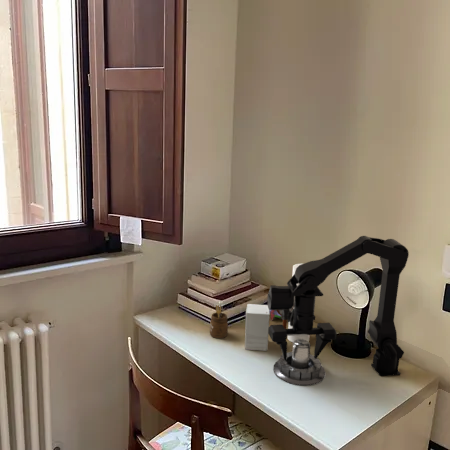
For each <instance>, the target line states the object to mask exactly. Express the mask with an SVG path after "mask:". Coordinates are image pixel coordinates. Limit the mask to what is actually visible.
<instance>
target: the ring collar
mask: <svg viewBox="0 0 450 450" xmlns="http://www.w3.org/2000/svg"><path fill="white" fill-rule="evenodd" d="M291 363H292V351H289V352H288V351H287V358H286V360H284V358H283V355H282V354H281V355H280V357H279V358H278V360H277V361H276V362H275V363H274V364H273V369H272V370H273V373H274V375H275V376H276V377H277V378H278V379H280V380H281V381H283V382H284V383H287V384H289V385H293V386H294V385H295V386H302V387H305V386H306V387H307V386H314V385H317V384H319V383H321V382H323V381H324V379H325V377H326V370H325V367H323V365H322V362H321V360H320V359H319V358H318V357H317V359H315V358H314V354H311V353H310V357H309V368H308V369H297V368H293V367H291Z"/></svg>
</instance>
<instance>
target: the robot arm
mask: <svg viewBox="0 0 450 450" xmlns="http://www.w3.org/2000/svg"><path fill="white" fill-rule="evenodd" d="M409 253H410V252H409V249H408V248H407V247H406V246H405V245H403V244H401V243H400V242H399V241H398V240H396V239H394V238H388V239H382V238H379V237H378V238H377V237H370V236H367V235H360V236H359V237H358V238H357V239H355V240H353V241H352V242H350V243H348V244H347V245H345V246H343V247H341V248H339V249H338V250H335V251H334V252H332V253H330V254H329V255H326V256H325V257H323V258H321V259H316V260H310V261H307V262H304V263H300V264H301V265H300V266H298V267H297V268H296V271H295V274H294V275H293V276H291V277H290V279H288V281H287V282H286V285H270V286H269V291H268V293H267V297H266V298H267V304H268V309H269V310H282V316H281V317H282V318H281V319H282V321H283V320H287V323H289V322H290V326H293V328H292V329H288V328H286V329H285V328H284V327H283V324H269V328H268V337H269V339H271V341H272V342H273V343H276V344H277V345H279V347H280V351H281V353H282V354H281V355H283V358H284V360H286V358H287V352H288V342H287V340H288V336H294V335H310V336H312V335H313V336H314V335H315V337H316V338H315V343H314V344H315V345H314V351H313V356H314V358H315V359H317V358H318V357H319V356H320V354H321V353H322V351H323V350H324V349H325V348H326V346H327V345H328V344H329V343H332V341H333V340H336V339H337V333H338V332H337V330H336V329H335V327H333V325H332V324H331V322H318V323H317V324H316V327H314V321H315V320H316V316H315V309H316V297H323V296H324V293H323V291H321V289H320V287H319V286H321V285H322V284H323V283H324V282H325V280H326V279H327V278H328V277H329V276H330V275H331V274H333V273H334V272H336V271H338V270H340V269H341V268H344V267H345V266H347V265H349V264H351V263H352V262H355V261H356V260H358V259H359V258H361V257H363V256H365V255H367V254H370V255H373V256H376V257H378V258H379V261H380V265H381V268H382V274H381V282H380V289H379V299H378V307H377V315H376V317H375V318H374V320H371V319H370V320H369V321H368V326H369V327H368V330H367V333H368V335H369V337H370V339H371V341H372V342H373V344H374V345H375V346H376V347H377V348H376V349H375V352H374V354H373V357H372V363H371V364H370V365H371V367H372V368H373V370H374V371H375V372H376V373H377V374H378V376H379V377H391V376H401V372H400V370H399V365H400V364H399V363H400V359H402V358H403V356H404V355H405V352H404V350H403V349H402V348H401V346H399V344H398V335H397V329H396V325H395V315H396V314H395V312H396V307H397V306H396V305H397V298H398V297H397V296H398V291H399V284H400V283H399V282H400V275H401V273H402V272H403V271H404V269H405V268H406V265H407V261H408V260H409V257H410V255H409ZM298 283H299V285H298V286H297V285H296V284H298ZM294 296H295V302H294ZM293 305H294V309H293V310H292V311H290V309H292V306H293Z"/></svg>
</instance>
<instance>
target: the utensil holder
mask: <svg viewBox="0 0 450 450" xmlns="http://www.w3.org/2000/svg"><path fill="white" fill-rule="evenodd" d="M219 304H220V305H219ZM210 317H211V318H210V323H209V336H211V337H212V338H215V339H223V338H226V337H227V336H228V330H229V321H228V315H227V314H226V313H224V310H222V301H219V302H217V304H216V306H215V312H213V313H211V316H210Z"/></svg>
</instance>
